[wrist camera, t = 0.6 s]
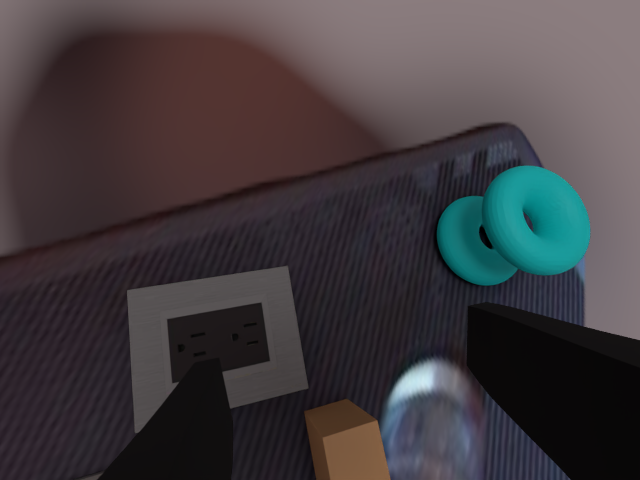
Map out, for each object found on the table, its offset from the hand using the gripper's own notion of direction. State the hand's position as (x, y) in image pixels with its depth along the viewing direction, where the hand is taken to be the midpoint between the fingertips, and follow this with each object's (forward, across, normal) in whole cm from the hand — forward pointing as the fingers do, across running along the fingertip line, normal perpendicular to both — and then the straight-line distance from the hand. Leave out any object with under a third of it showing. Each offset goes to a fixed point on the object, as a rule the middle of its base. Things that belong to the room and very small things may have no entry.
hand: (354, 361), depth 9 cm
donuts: (+23, -21, +6) cm, 32 cm away
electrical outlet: (+19, +7, +9) cm, 22 cm away
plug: (+14, -1, +18) cm, 23 cm away
